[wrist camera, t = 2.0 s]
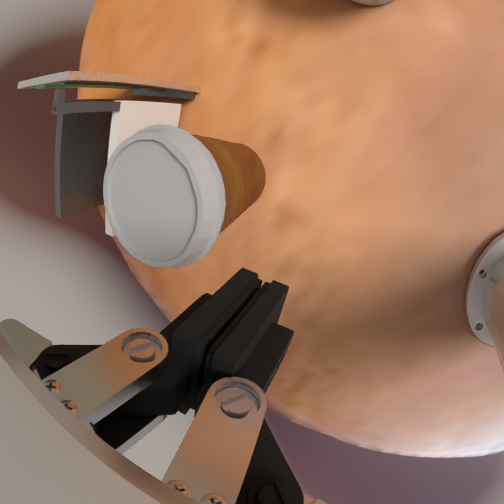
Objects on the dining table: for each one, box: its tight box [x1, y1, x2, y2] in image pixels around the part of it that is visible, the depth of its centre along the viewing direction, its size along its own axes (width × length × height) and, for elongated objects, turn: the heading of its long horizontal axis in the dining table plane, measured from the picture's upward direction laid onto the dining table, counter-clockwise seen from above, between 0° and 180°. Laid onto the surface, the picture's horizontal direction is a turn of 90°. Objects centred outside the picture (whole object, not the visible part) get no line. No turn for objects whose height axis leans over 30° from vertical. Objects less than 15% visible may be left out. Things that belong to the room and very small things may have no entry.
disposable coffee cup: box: [103, 124, 265, 268], centre depth 22 cm, size 10×10×12 cm
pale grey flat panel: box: [52, 89, 182, 237], centre depth 23 cm, size 1×13×14 cm, turn 167°
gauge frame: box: [18, 71, 201, 219], centre depth 24 cm, size 10×15×15 cm, turn 167°
